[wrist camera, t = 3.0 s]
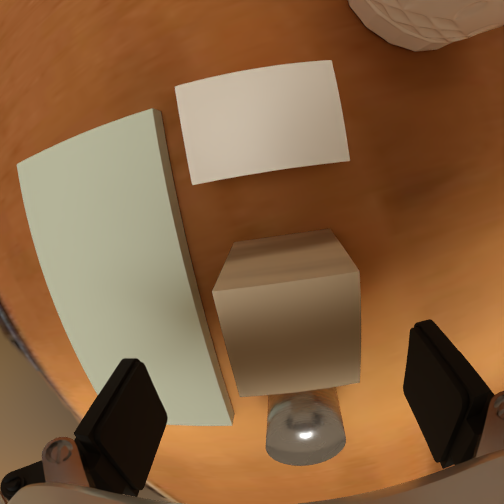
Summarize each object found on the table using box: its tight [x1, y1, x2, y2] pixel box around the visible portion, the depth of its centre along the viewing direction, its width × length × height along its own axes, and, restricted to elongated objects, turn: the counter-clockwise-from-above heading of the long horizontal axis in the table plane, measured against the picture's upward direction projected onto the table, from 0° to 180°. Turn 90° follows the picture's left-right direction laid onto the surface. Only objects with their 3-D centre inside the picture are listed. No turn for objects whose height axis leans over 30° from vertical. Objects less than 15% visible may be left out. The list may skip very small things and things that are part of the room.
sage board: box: [17, 109, 234, 426], centre depth 17 cm, size 20×10×1 cm, turn 10°
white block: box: [175, 60, 350, 185], centre depth 12 cm, size 4×6×4 cm, turn 100°
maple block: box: [212, 229, 361, 397], centre depth 14 cm, size 5×5×6 cm
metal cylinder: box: [266, 387, 346, 466], centre depth 16 cm, size 4×4×5 cm
